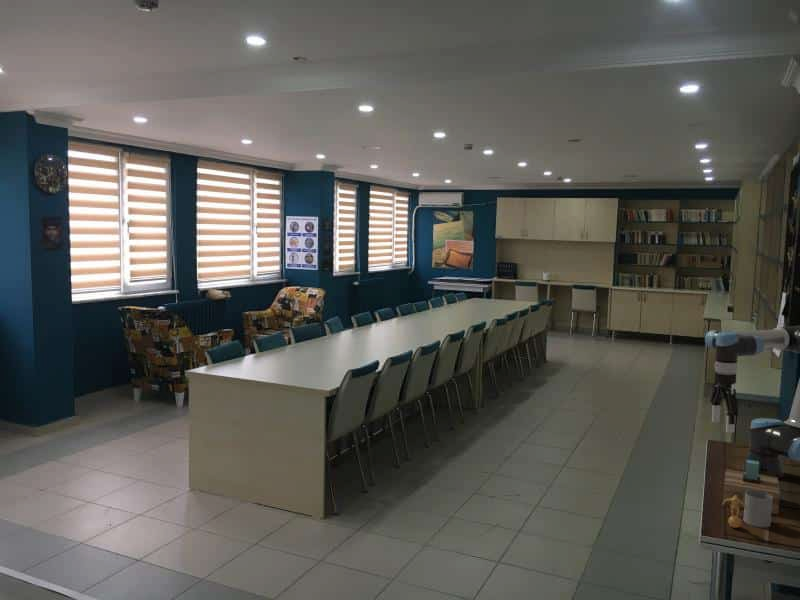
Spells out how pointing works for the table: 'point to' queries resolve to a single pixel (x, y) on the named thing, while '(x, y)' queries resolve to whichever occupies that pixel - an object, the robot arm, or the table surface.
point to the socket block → (750, 487)
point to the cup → (758, 508)
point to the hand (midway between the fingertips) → (722, 426)
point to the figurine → (735, 520)
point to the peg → (752, 469)
